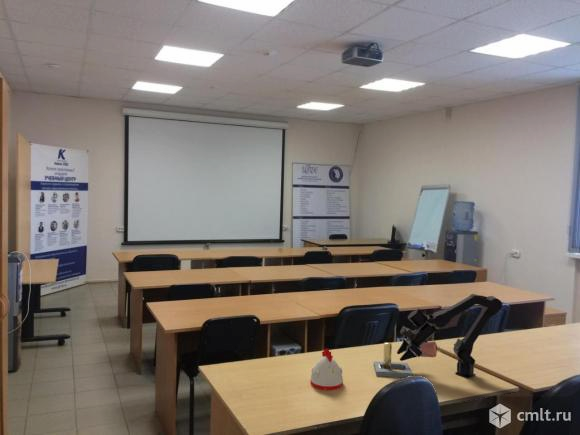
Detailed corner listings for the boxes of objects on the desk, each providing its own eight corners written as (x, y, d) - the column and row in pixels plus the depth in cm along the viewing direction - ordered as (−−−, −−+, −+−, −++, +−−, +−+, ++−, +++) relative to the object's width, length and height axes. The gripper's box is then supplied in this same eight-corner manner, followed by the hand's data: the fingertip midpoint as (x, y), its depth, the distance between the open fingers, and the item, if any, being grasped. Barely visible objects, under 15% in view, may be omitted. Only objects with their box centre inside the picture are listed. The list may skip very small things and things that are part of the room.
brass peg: (394, 370, 211) (394, 342, 211) (390, 373, 207) (391, 345, 206) (383, 368, 214) (384, 341, 213) (380, 371, 209) (380, 343, 209)
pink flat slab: (417, 341, 257) (417, 339, 257) (435, 343, 254) (436, 340, 254) (416, 356, 232) (416, 353, 232) (436, 359, 229) (436, 355, 229)
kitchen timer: (319, 392, 186) (320, 356, 185) (305, 380, 198) (305, 346, 198) (348, 387, 191) (349, 352, 191) (333, 375, 204) (333, 342, 203)
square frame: (407, 367, 216) (407, 362, 216) (412, 377, 203) (412, 372, 203) (373, 365, 217) (373, 361, 217) (376, 375, 204) (376, 371, 204)
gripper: (407, 316, 218) (384, 338, 219) (414, 326, 199) (389, 350, 200) (424, 332, 217) (400, 354, 219) (432, 345, 199) (406, 369, 200)
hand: (398, 356), depth 209 cm, fingers open, 9 cm apart
